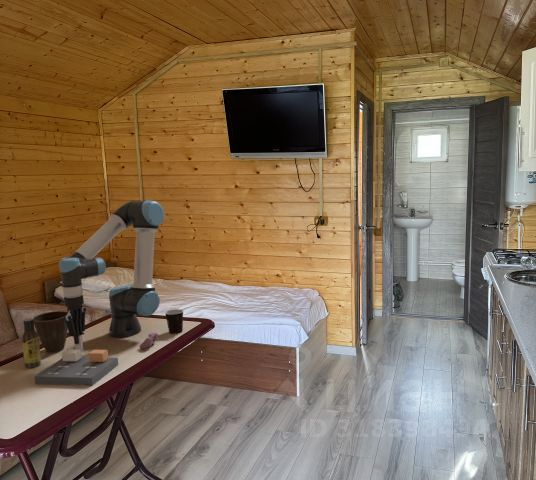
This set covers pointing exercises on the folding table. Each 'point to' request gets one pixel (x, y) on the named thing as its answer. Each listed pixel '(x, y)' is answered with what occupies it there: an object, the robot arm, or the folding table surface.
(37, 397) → the folding table surface
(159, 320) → the folding table surface
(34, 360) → the sauce bottle
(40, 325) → the plant pot
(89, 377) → the board
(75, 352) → the block
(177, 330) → the coffee mug
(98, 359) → the block
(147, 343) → the pink lumpy piece
